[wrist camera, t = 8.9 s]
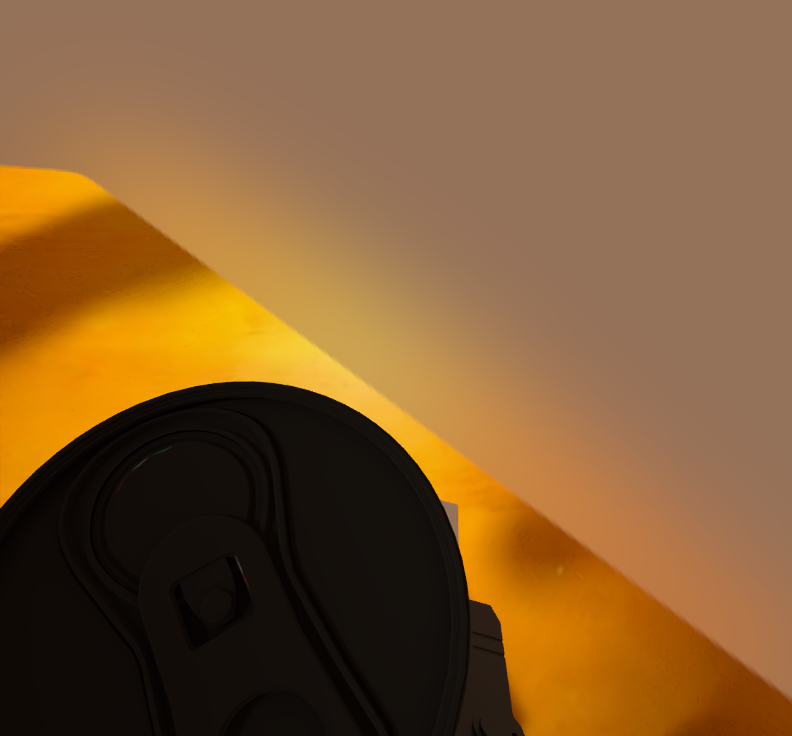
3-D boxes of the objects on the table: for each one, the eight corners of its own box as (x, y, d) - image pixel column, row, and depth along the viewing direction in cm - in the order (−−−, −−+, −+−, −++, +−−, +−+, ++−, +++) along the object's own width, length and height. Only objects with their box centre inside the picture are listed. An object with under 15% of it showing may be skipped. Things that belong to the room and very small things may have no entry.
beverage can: (360, 537, 20) (376, 336, 8) (409, 696, 18) (568, 805, 5) (216, 588, 19) (-68, 449, 6) (246, 769, 16) (-148, 1205, 3)
